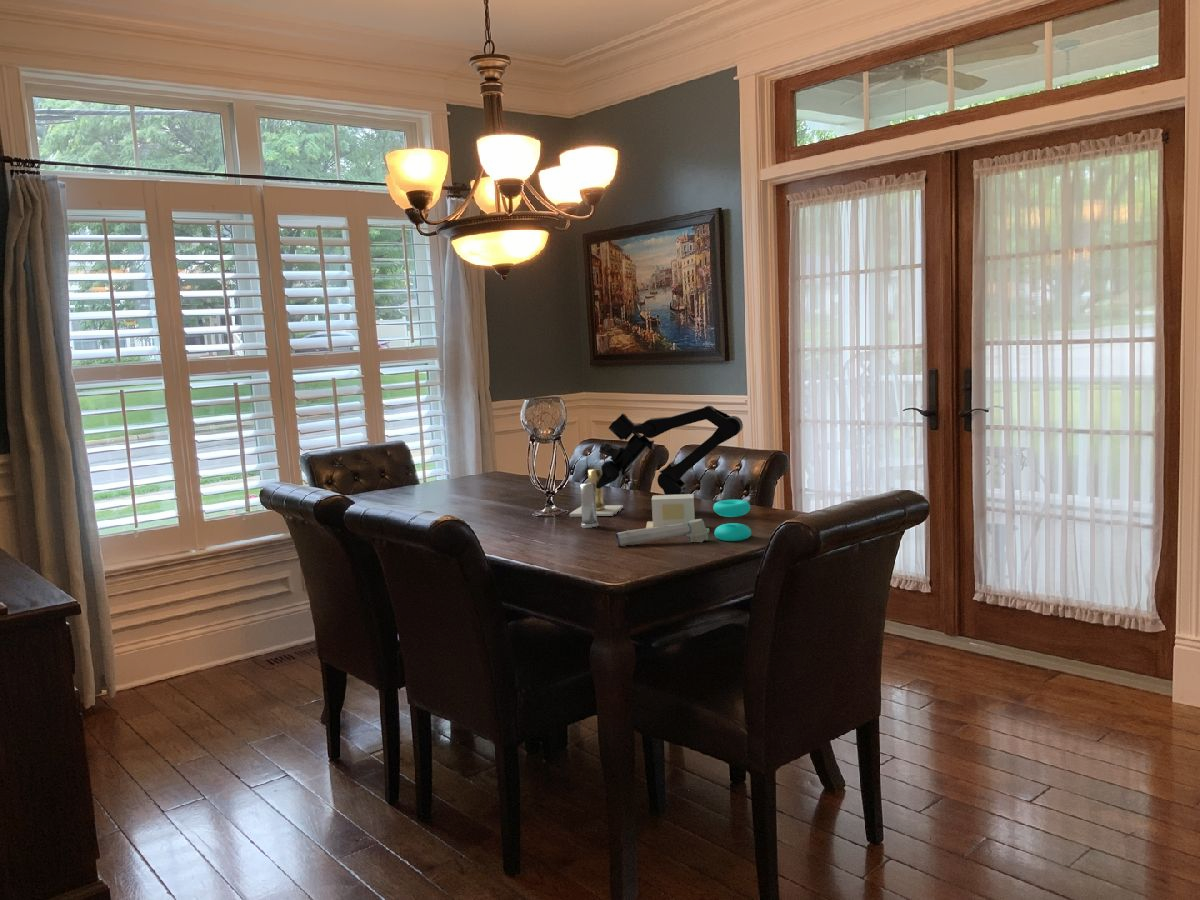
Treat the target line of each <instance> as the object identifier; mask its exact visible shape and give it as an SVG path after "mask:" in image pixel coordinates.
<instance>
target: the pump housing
mask: <svg viewBox="0 0 1200 900" xmlns="http://www.w3.org/2000/svg"><path fill="white" fill-rule="evenodd" d="M694 496H695V494H694V493H688V494H687V493H686V494H679V495H665V494H658V495H657V494H655V495H652V497H651V512H652V514H651V517H652V520H651V521H647V522H646V526H645V528H652V527H659V526H666V525H674V524H681V523H688V522H689V521H691V520H695V519H696V517H695V516H696V515H695V514H696V513H695V497H694Z"/></svg>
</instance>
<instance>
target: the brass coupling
mask: <svg viewBox="0 0 1200 900" xmlns="http://www.w3.org/2000/svg"><path fill="white" fill-rule="evenodd" d="M601 476H602V469H601V468H589V469H587V477H588V478H587V479H588V482H587V483H595V496H596V511H601V510H604V509H605V504H604V489H603V487H601V488H599V489H597V488H596V485H597V483H598V481H599V479H600V478H601Z"/></svg>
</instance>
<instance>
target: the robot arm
mask: <svg viewBox="0 0 1200 900" xmlns="http://www.w3.org/2000/svg"><path fill="white" fill-rule="evenodd" d="M705 420H706V421H708V422H709V423H711V424H713V425H714V426H716V427H717V428H716V430H715V431H714V432H713V434H711V436H710V437H708V438H707V439H706V440H705V441H704V442H703V443H701V444H700V445H698V447H697V448H695V449H693V451H691V453H689V454H687V456H686V457H684V458H683V459H682V460H681V461H679V462H677V463H676V464H675V462H674V460H673V461H671V462H670V463H669V464H668V465H667V466H666V467H664V468H663V469H661V470H660V471H659V473H660V474H659V475H658V476H657V485H658V486H659V488H661V489H662V490H663V493H664V495H679V494H687V493H686V492H684V491H686V487H687V484H686V482H685V481H683V480H682V478H683V477H684V476H685V475H686V474H687V472H688V471H689V470H690V469H692V467H694V466H695V465H697V463H699V462H700V461H701V460H702V459H703V458H705V457H706V456H707V455H708V454H709V453H711V452H712V451H713V450H715V448H717V447H718V446H719V445H721V444H723V443H724V442H726V441H728V440H731V438H733V437H735V436H737V435H738V434H740V432H741V431H743V427H744V424H743V421H742V418H740V417H739V416H736V415H729V414H728V413H725V412H723V411H721V410H719V409H716V408H715V407H714V406H712V405H705V406H704V407H700V408H697V409H695V410H694V409H693V410H690V411H687V412H683V413H680V414H676V415H672V416H660V417H652V418H649V419H647V420H645V421H643V423H642V422H641V423H637V424H635V423H634V422H633V421H632V420H630V419H629V417H628V416H627V415H626V413H621V415H620V416H618V417H617V418H616V419H615V420H614V421H612V422H611V423H610V425H609V427H608V430H610V432H612V433H613V435H615V436H616V437H617V438H618V439H619V440H620V441H623V440H625V441H626V443H625V444H624V445H623V446H621V447H620V446H617V445H615V444H613V443H610V442H608V441H603V442H601V445H600V446H599V451H598V452H599V453H600V454H603V455H606V456H608V457H610V458H609V460H606V461H605V462H604V463H603V464H602V465H601V468H600V469H602V476H601V478H600V479H599V481H598V483H597V485H596V488H597V489H599V488H601V487H602V488H604V487H605V486H607V485H610V484H611V483H613V482H615V481H616V480H618V479H619V478H620V477H622V476H624V475H626V474H628V473H629V472H630V471H631V470H632V469H633V467H634V465H633V464H634V462H636V461H637V460H638V459H639V457H640V456H641V454H642V453H644V451H645V450H646V449H647V448H648V449H649V450H650V451H652V450H654V449H655V440H654V439H653V438H656V437H658V436H660V435H662V434H664V433H666V432H668V431H670V430H673V429H675V428H680V427H683V426H686V425H690V424H693V423H694V424H695V423H697V422H702V421H705ZM631 436H632V437H631ZM629 438H630V439H629ZM651 439H653V440H651ZM627 440H628V441H627Z"/></svg>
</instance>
